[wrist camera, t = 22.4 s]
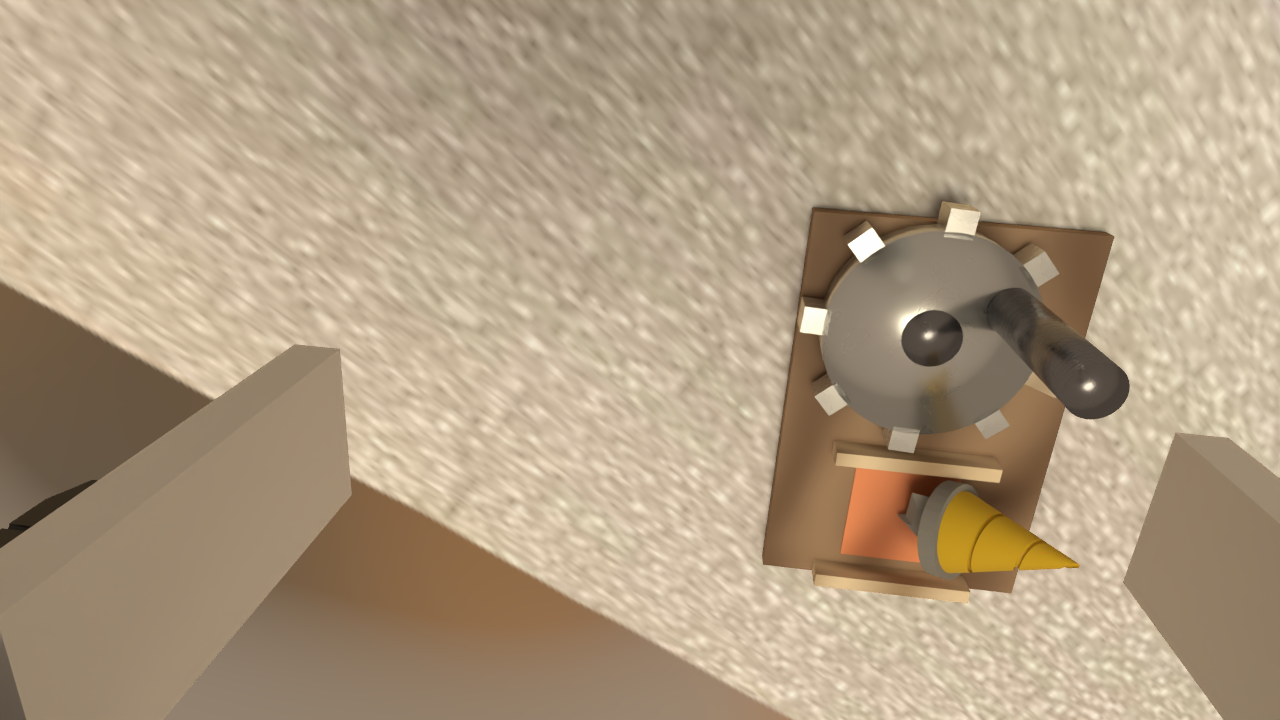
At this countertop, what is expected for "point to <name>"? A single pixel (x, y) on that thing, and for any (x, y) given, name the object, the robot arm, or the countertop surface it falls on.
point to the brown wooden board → (885, 479)
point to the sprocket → (948, 333)
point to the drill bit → (973, 535)
